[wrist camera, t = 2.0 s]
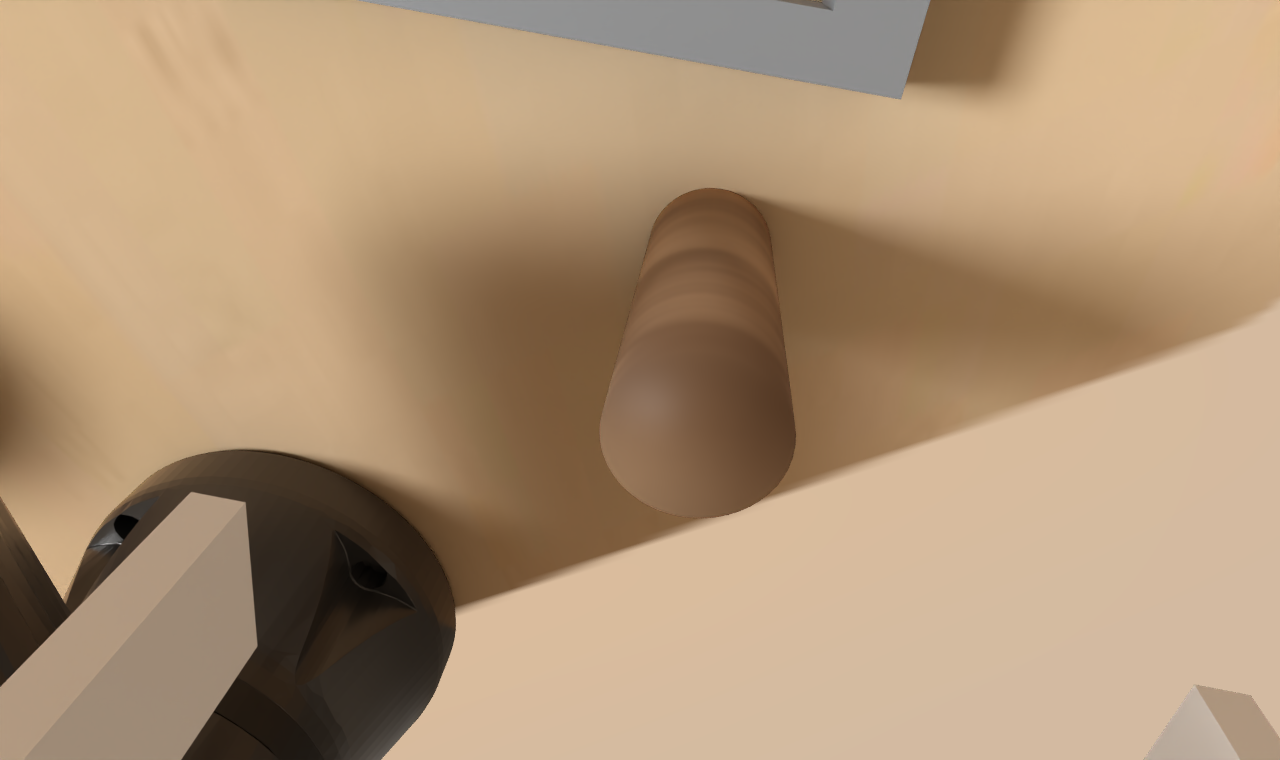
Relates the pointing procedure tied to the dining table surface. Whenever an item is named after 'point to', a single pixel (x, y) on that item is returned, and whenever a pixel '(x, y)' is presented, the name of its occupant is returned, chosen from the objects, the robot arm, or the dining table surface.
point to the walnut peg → (702, 365)
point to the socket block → (729, 33)
